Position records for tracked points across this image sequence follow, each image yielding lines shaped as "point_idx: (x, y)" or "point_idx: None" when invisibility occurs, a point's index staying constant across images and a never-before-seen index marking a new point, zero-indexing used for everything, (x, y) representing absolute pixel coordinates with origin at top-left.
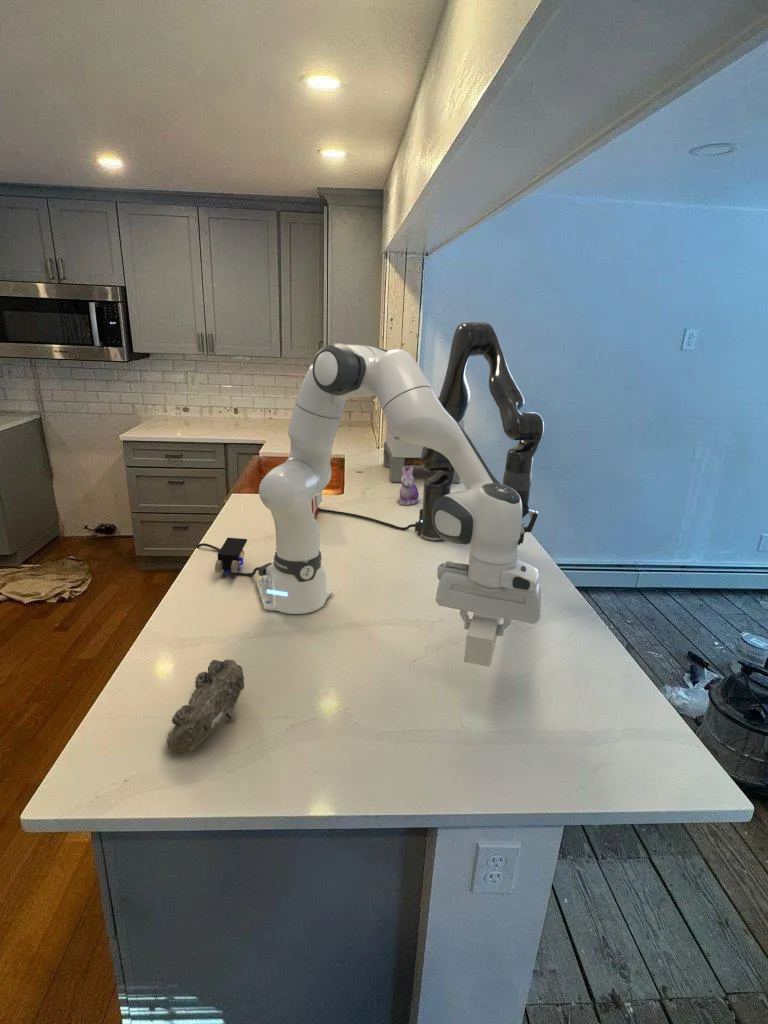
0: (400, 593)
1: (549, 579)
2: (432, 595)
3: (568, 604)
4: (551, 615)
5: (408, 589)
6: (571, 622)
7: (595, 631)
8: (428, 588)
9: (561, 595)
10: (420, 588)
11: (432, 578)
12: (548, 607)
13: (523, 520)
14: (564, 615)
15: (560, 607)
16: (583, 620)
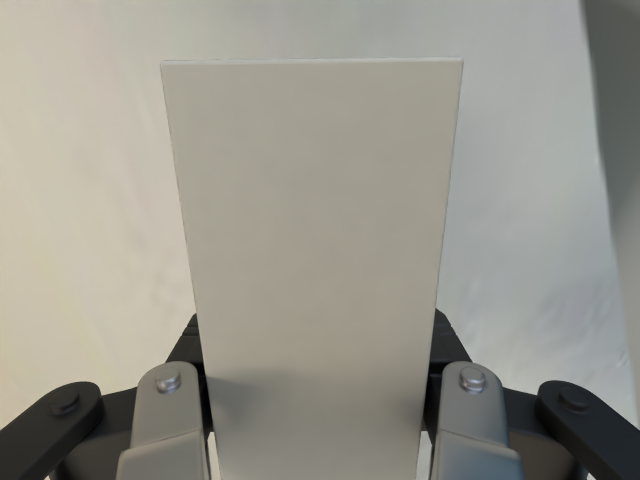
0: (6, 396)
1: (531, 59)
2: (102, 374)
3: (569, 272)
4: (493, 362)
5: (12, 366)
6: (550, 379)
7: (613, 401)
8: (66, 337)
9: (557, 209)
10: (43, 346)
11: (38, 260)
12: (489, 318)
13: (519, 464)
14: (537, 349)
15: (533, 303)
16: (594, 357)
